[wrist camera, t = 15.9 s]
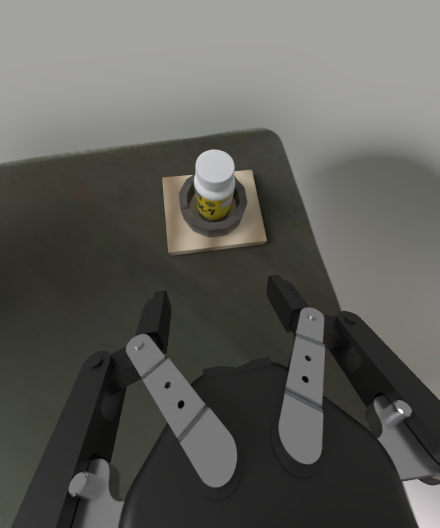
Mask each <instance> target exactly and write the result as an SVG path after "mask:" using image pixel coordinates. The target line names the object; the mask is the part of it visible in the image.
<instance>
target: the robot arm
mask: <svg viewBox="0 0 440 528" xmlns="http://www.w3.org/2000/svg"><path fill="white" fill-rule="evenodd" d="M267 296H268V299H269V301H270V303H271V304H272V306H273V308H274V310H275V312H276V314H277V315H278V317H279V319H280V321H281V323H282V325H283V326H284V328H285V330H286V332H287V333H288V332H293V334H294V337H293V342H292V347H291V351H290V356H289V360H288V364H287V367H285V366H283V365H280V364H277V363H273V362H271V361H270V358H269V357H267V358H261V359H256V360H252V361H250V362H248V363H246V364H244V365H242V366H240V367H238V368H234V367H223V366H219V367H213V368H208V369H203V373H204V375H202V376H200V377H199V378H197V379H196V380H195V381H194V382H193V383H192V384H191V385H190V384H189V383H188V382H187V381H186V379H185V378H184V377H183V376H182V374H181V373H180V372H179V371H178V369H177V368H176V367H175V366H174V364H173V363H172V362H171V361H170V359H169V358H168V357H165V356H164V355H163V354H165V353H167V346H168V337H169V328H170V319H171V305H170V302H169V298H168V295H167V292H166V291H160V292H155V295H154V299H152V300H148V302H147V303H146V304H145V305H144V309H143V313H142V315H141V319H140V322H139V326H138V329H137V332H136V336H135V337H134V338H133V339H131V340H130V341H129V343H128V344H127V346H126V347H125V348H123V349H121V350H119V351H116V352H114V353H112V354H109V352H107V351H100V352H97V353H95V354H93V355H92V356H90V357H89V358H88V359H87V360H86V361H85V363H84V364H83V366H82V368H81V371H80V373H79V375H78V377H77V380H76V382H75V384H74V386H73V389H72V391H71V393H70V395H69V398H68V400H67V402H66V404H65V407H64V409H63V411H62V413H61V416H60V418H59V420H58V423H57V425H56V427H55V429H54V432H53V434H52V436H51V438H50V441H49V443H48V445H47V447H46V450H45V452H44V454H43V456H42V459H41V461H40V463H39V465H38V468H37V470H36V472H35V474H34V477H33V479H32V481H31V483H30V486H29V488H28V490H27V493H26V495H25V497H24V499H23V502H22V504H21V506H20V508H19V511H18V513H17V515H16V517H15V520H14V522H13V524H12V526H11V528H419V527H418V525H417V523H416V521H415V519H414V517H413V514H412V512H411V509H410V507H409V504H408V502H407V499H406V496H405V493H404V489H403V486H402V483H401V482H402V481H408V480H414V479H418V480H420V481H422V482H423V483H426V484H428V485H438V484H440V400H439V399H438V398H437V397H436V396H435V395H434V394H433V393H432V392H431V391H430V390H429V389H428V388H427V387H426V386H425V385H424V384H423V383H422V382H421V380H420V379H419V378H418V377H416V375H415V374H414V373H413V372H412V371H411V370H410V369H409V368H408V367H407V366H406V365H405V364H404V363H403V362H402V361H401V360H400V359H399V358H398V356H397V355H396V354H394V352H393V351H392V350H391V349H390V348H389V347H388V346H387V345H386V344H385V343H384V342H383V341H382V340H381V339H380V338H379V337H378V336H377V335H376V334H375V333H374V332H373V330H372V329H371V328H370V327H369V326H368V325H367V324H366V323H365V322H364V321H363V320H362V319H361V318H360V317H359V316H357V315H356V314H354V313H351V312H347V311H341V312H339V313H338V315H337V316H328V315H323V314H322V313H321V312H320V311H318V310H316V309H314V308H310V307H309V305H308V304H307V303H306V302H305V300H304V299H303V298H302V296H301V295H300V294H299V293H298V291H297V290H296V289H295V288H294V286H293V285H292V284H291V283H289V282H288V281H286V280H285V281H283V280H282V278H281V277H280V276H279V275H275V276H269V277H268V284H267ZM325 348H328V349H329V350H330V352H331V353H332V355H333V356H334V358H335V359H336V361H337V363H338V364H339V366H340V367H341V369H342V370H343V372H344V373H345V375H346V376H347V378H348V380H349V381H350V383H351V384H352V386H353V387H354V389H355V390H356V392H357V393H358V395H359V397H360V398H361V400H362V401H363V403H364V404H365V406H366V407H367V408H366V410H365V416H366V419H367V422H368V424H369V427H370V429H371V431H372V433H371V432H370V431H369V430H368V429H367V428H365V427H364V426H363V425H362V424H360V423H359V422H358V421H356V420H355V419H354V418H353V417H351V416H350V415H349V414H347V413H346V412H345V411H343V410H342V409H341V408H339V407H338V406H337V405H336V404H334V403H333V402H332V401H330V400H329V399H328V398H326V397H325V396H324V395H323V376H324V357H325ZM140 379H142V380H143V382H144V383H145V385H146V387H147V388H148V390H149V392H150V393H151V395H152V397H153V398H154V400H155V402H156V403H157V405H158V407H159V409H160V410H161V412H162V414H163V415H164V417H165V419H166V420H167V424H166V426H165V428H164V429H163V431H162V433H161V435H160V436H159V438H158V440H157V441H156V443H155V445H154V447H153V448H152V450H151V452H150V453H149V455H148V457H147V459H146V460H145V462H144V464H143V466H142V467H141V469H140V471H139V472H138V474H137V476H136V478H135V479H134V481H133V483H132V485H131V487H130V489H129V491H128V493H127V495H126V498H125V501H123V500H122V499H121V497H120V493H119V471H118V469H117V467H116V466H114V465H113V464H111V463H110V462H111V458H112V453H113V448H114V444H115V439H116V434H117V430H118V425H119V420H120V416H121V411H122V406H123V402H124V397H125V392H126V387H127V386H128V385H130V384H132V383H134V382H136V381H138V380H140Z"/></svg>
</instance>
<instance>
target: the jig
mask: <svg viewBox="0 0 440 528" xmlns="http://www.w3.org/2000/svg"><path fill="white" fill-rule="evenodd" d="M194 177H195V174H194V175H187V176H176V177H164V178H162V180H163V192H164V205H165V217H166V230H167V242H168V253H169V254H170V255H180V254H188V253H196V252H204V251H212V250H221V249H229V248H237V247H245V246H253V245H261V244H264V243H265V242H266V241H267V239H266V234H265V229H264V225H263V220H262V215H261V211H260V206H259V201H258V197H257V192H256V187H255V182H254V178H253V173H252V170H245V171H234V178H235V188H234V193H233V198H232V203H231V208H230V212H229V215H228V216H227V218H226V219H224V220H223V221H221V222H213V223H210V222H207V221H205V220H204V219H203V218H202V217H201V216H200V215H199V212H198V208H197V201H196V194H195V187H194Z"/></svg>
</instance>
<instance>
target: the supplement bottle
mask: <svg viewBox="0 0 440 528" xmlns="http://www.w3.org/2000/svg"><path fill="white" fill-rule="evenodd" d="M234 168H235V166H234V162H233V160H232V158H231V157H230V156H229V155H228V154H227V153H225V152H223V151H220V150H209V151H206V152H204V153H202V154H201V155H200V156H199V157H198V159H197V161H196V174H195V177H194V187H195V194H196V201H197V208H198V212H199V215H200V216H201V217H202V218H203V219H204V220H205V221H207V222H210V223H213V222H221V221H223V220H224V219H226V218H227V216H228V215H229V212H230V208H231V203H232V198H233V193H234V188H235V178H234Z"/></svg>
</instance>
